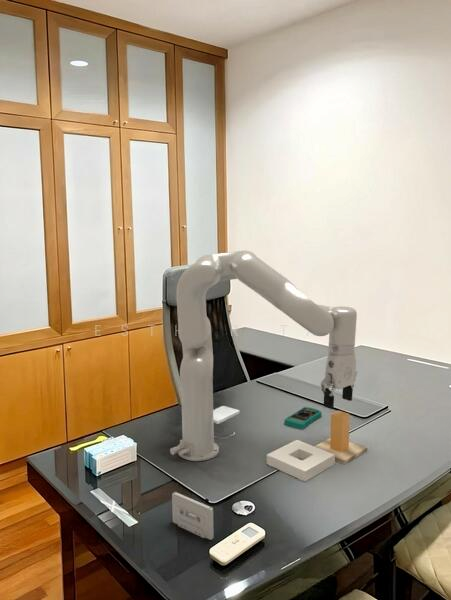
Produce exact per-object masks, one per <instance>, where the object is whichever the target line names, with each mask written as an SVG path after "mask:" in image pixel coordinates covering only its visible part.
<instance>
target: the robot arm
mask: <svg viewBox="0 0 451 600" xmlns="http://www.w3.org/2000/svg"><path fill="white" fill-rule="evenodd" d="M231 280H238V281H239V282H241V283H243V284H244V286H246V287H248V288H250V289H251V290H252V291H253V292H255V293H256V294H257V295H259V296H261V297H262V299H264V300H266V301H267V302H268V303H270V304H271V305H273V306H274V308H275V309H278V310H279V311H280V312H282V313H283V314H285V315H286V316H288V317H289V318H290V319H291V320H292V321H294V322H295V323H296V324H297V325H299V326H301V327H302V328H303V329H304V330H306V331H308V332H309V333H310V334H312V335H314V336H316V337H325V336H328V335H329V336H328V350H327V351H328V354H327V359H326V364H325V373H324V378H323V380H322V381H321V382H320V386H321V391H322V394H323V407H325V408H328V409H331V410H332V409H334V408H335V407H334V406H335V405H334V404H335V395H334V394H335V391H336V390H341V389H342V397H341V398H342V399H343V400H346V401H348V402H352V401H353V392H354V387H355V382H356V378H357V375H358V371H357V365H356V364H357V362H356V361H357V360H356V359H357V358H356V354H355V348H356V347H355V346H356V332H357V331H356V330H357V318H358V317H357V315H358V314H357V313H358V312H357V310H356V309H355V308H353V307H349V306H329V305H324V304H317V303H315V302H314V301H313V300H311V299H310V298H309V297H307V296H306V295H305V294H304V293H303V292H302V291H300V290H299V289H298V288H297V287H296V285H295V284H294V283H293V282H292V281H290V280H289V279H288V278H287V277H286V276H284V275H282V274H281V273H279V272H278V271H277V270H276V269H274V268H273V267H271V266H270V265H269V264H267V263H266V262H264V261H263V260H262V259H261V258H260V257H258V256H257V255H256V254H255V253H254V252H252V251H251V250H239V251H237V250H236V251H230V252H221V253H212V254H205V255H202V256H201V257H199V258H198V259H196V261H195V263H193V264H191V265H190V266H189V267H188V268H186V269H185V270H184V271H183V272H182V274H181V275H180V277H179V279H178V282H177V285H176V307H177V308H176V309H177V310H176V311H177V312H176V313H177V324H178V325H177V326H178V327H177V328H178V330H177V332H178V338H179V341H180V343H181V346H182V348H181V349H182V359H181V362H180V367H179V381H180V392H181V393H180V394H181V396H180V397H181V430H182V431H181V432H182V439H180V440H179V443H178V445H176V446H174V447H171V448H170V449H169V452H170V453H169V454H170V455H172V456H174V455H176V454H178V456H179V457H181V458H182V459H184V460H187V461H192V462H203V461H208V460H212V459H214V458H215V457H216V456H218V455H219V452H220V446H219V445H218V444H217V443H216V442H215V439H214V436H215V435H214V431H215V429H214V423H213V410H214V386H213V381H214V380H213V379H214V375H213V373H214V353H213V352H214V350H213V339H212V338H213V337H212V336H213V335H212V326H211V321H210V319H209V317H208V316H207V314H208V313H207V301H206V300H207V299H206V298H207V297H206V296H207V292H208V290H209V288H211V287H213V286H214V285H216V284H217V283H219V282H221V281H222V282H223V281H231ZM329 388H330V389H329Z"/></svg>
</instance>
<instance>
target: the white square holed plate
mask: <svg viewBox="0 0 451 600" xmlns="http://www.w3.org/2000/svg"><path fill="white" fill-rule="evenodd" d="M314 446H315V445H312V444H309V443H307V442H304V441H302V440H298V439H296V440H293V441H291V442H290V443H288V444H285V445H284V446H281V447H279V448H277V449H276V450H273V451H271V452H269V453H267V454H266V465H267V464H268V465H267V466H269V467H272V468H274V469H276V468H277V470H278V469H279V471H281V472H283V473H285V474H287V475H290V476H292V477H294V478H295V479H298V480H301V481H303V482H307V481H309V480H310V479H312V478H314V477H316V476H318V475H319V474H320V473H322V472H324V471H326V470H327V469H329V468H331V467H333V466H335V462H336V461H335V454H332V453H330V452H327V451H325V450H322V449H319V448H317V447H314Z"/></svg>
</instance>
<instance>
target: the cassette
mask: <svg viewBox="0 0 451 600" xmlns="http://www.w3.org/2000/svg"><path fill="white" fill-rule="evenodd" d="M171 506H172V507H171V508H172V522H173V524H175V525H177V526H178V527H179V528H182V529H184V530H186V531H188V532H189V533H192V534H194V535H196V536H199V537H200V538H203V539H208V540H210V541H211V540H213V539H214V532H215V531H214V508H213V507H212V506H209V505H207V504H205V503H202V502H199V501H197V500H195V499H193V498H190V497H188V496H186V495H184V494H181V493H179V492H177V491H174V492H173V493H171Z"/></svg>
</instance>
